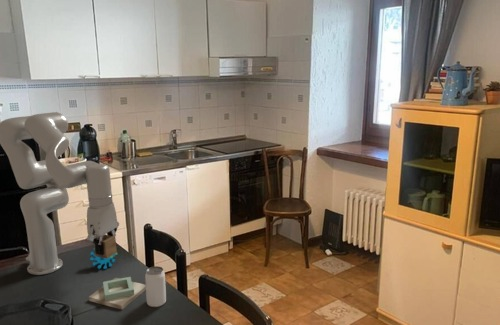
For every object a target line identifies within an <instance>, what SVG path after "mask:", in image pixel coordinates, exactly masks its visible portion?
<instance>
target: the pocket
mask: <svg viewBox="0 0 500 325" xmlns="http://www.w3.org/2000/svg"><path fill="white" fill-rule="evenodd" d="M132 282H133V281H132V277H131V276H126V277H121V278H120V279H116V280H113V279H111V280H110V279H109V280H106V281H103V282H102V287H103V288H104V294H105V301H107V300H112V299H116V298H121V297H126V296H131V295H134V288H133V284H132ZM122 285H127V286H128V289H123V290H118V291H113V292H109V288H111V287H117V286H122Z"/></svg>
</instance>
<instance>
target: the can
mask: <svg viewBox="0 0 500 325" xmlns="http://www.w3.org/2000/svg"><path fill="white" fill-rule="evenodd" d="M144 277H145V278H144V280H145V285H146V290H145V295H146V298H145V299H146V304H147V306H149V307H152V308H159V307H162V306H164V305H165V303H166V301H167V290H166V289H167V288H166V273H165V271H164V268H163V267H162V266H157V265H156V266H151V267H148V268H147V269H146V271H145V276H144Z"/></svg>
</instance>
